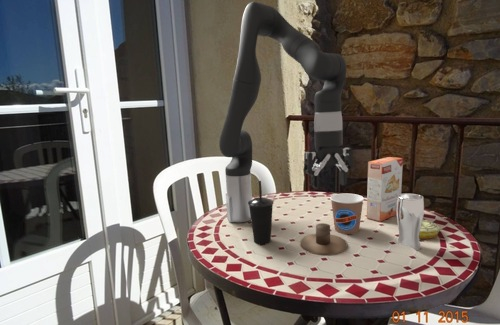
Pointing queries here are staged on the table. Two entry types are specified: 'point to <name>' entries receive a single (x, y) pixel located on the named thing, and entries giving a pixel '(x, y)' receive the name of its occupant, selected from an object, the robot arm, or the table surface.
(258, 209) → the drinking cup
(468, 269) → the table surface
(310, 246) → the walnut lid
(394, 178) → the cracker box
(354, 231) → the coffee cup
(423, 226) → the decorated donut
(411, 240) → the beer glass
